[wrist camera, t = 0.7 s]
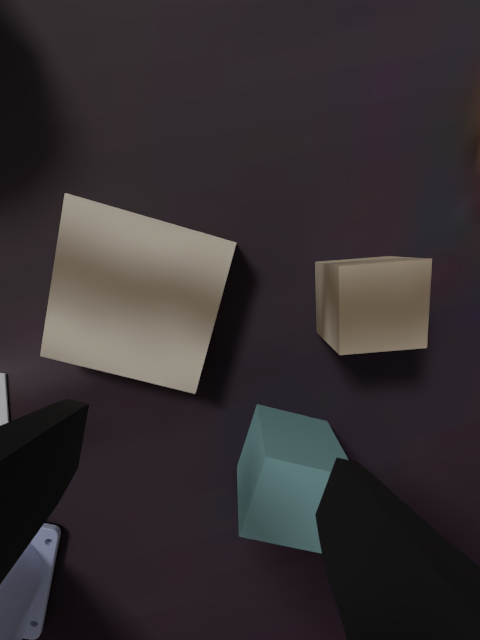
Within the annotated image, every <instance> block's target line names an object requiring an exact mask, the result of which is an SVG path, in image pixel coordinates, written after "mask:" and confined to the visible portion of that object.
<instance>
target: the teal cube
mask: <svg viewBox="0 0 480 640" xmlns="http://www.w3.org/2000/svg"><path fill="white" fill-rule="evenodd" d="M336 457H337V458H342V459H346V460H348V458H347V456H346V454H345V453H344V451H343V449H342V447H341V445H340V444H339V442H338V440H337V438H336V436H335V435H334V433H333V431H332V429H331V427H330V425H329V424H328V422H327V421H324V420H320V419H316V418H311V417H307V416H303V415H299V414H295V413H291V412H287V411H283V410H279V409H275V408H270V407H266V406H262V405H258V404H257V406H256V409H255V412H254V415H253V419H252V422H251V425H250V428H249V431H248V434H247V437H246V441H245V444H244V447H243V450H242V453H241V456H240V460H239V463H238V466H237V484H238V519H239V537H243V538H248V539H253V540H258V541H263V542H268V543H273V544H277V545H282V546H287V547H292V548H297V549H302V550H307V551H311V552H316V553H321V554H322V551H321V546H320V541H319V535H318V529H317V523H316V516H315V514H316V511H317V509H318V506H319V503H320V501H321V498H322V495H323V492H324V490H325V487H326V484H327V482H328V479H329V476H330V474H331V471H332V468H333V465H334V463H335V460H336Z"/></svg>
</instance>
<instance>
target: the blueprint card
mask: <svg viewBox="0 0 480 640" xmlns="http://www.w3.org/2000/svg"><path fill="white" fill-rule="evenodd" d="M8 422H9V412H8V398H7V383H6V373H0V426H1V425H3V424H6V423H8Z"/></svg>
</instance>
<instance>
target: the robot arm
mask: <svg viewBox="0 0 480 640" xmlns="http://www.w3.org/2000/svg"><path fill="white" fill-rule="evenodd" d="M88 407H89V404H87V403H83V402H78V401H74V400H69V399H65V400H62V401H59V402H57V403H54V404H52V405H49V406H47V407H44V408H42V409H40V410H37V411H35V412H33V413H30V414H28V415H25V416H23V417H21V418H18V419H16V420H13V421H11V422H8V423H6V424H3V425H1V426H0V640H22V639H23V638H24V639H30V640H35V639H37V638H39V636H40V634H41V632H42V630H43V624H44V619H45V614H46V608H47V603H48V598H49V593H50V587H51V582H52V577H53V572H54V566H55V561H56V556H57V551H58V545H59V540H60V535H61V530H60V528H59V527H58V526H56V525H52V524H47V523H45V521H46V520H47V519H48V517H49V516H50V514H51V513H52V511H53V510H54V509H55V507H56V506H57V504H58V503H59V501H60V499H61V497H62V496H63V494H64V492H65V490H66V489H67V487H68V485H69V483H70V481H71V480H72V478H73V476H74V474H75V472H76V470H77V469H78V465H79V459H80V453H81V448H82V442H83V436H84V430H85V424H86V419H87V413H88ZM315 516H316V523H317V529H318V535H319V541H320V546H321V551H322V556H323V559H324V563H325V566H326V570H327V573H328V577H329V580H330V584H331V587H332V590H333V594H334V597H335V600H336V604H337V607H338V610H339V614H340V617H341V620H342V624H343V627H344V630H345V634H346V637H347V640H480V567H479V566H478V565H476V564H475V563H474V562H473V561H471V560H470V559H469V558H468V557H466V556H465V555H464V554H463V553H462V552H460V551H459V550H458V549H457V548H456V547H454V546H453V545H452V544H451V543H450V542H448V541H447V540H446V539H445V538H444V537H442V536H441V535H440V534H439V533H438V532H437V531H435V530H434V529H433V528H432V527H431V526H430V525H428V524H427V523H426V522H425V521H424V520H423V519H422V518H421V517H419V516H418V515H417V514H416V513H415V512H414V511H413V510H412V509H410V508H409V507H408V506H407V505H406V504H405V503H404V502H403V501H401V500H400V499H399V498H398V497H397V496H396V495H395V494H394V493H393V492H391V491H390V490H389V489H388V488H387V487H386V486H385V485H384V484H383V483H381V482H380V481H379V480H378V479H377V478H376V477H375V476H373V475H372V474H371V473H370V472H369V471H368V470H366V469H365V468H364V467H363V466H361V465H360V464H359V463H357V462H356V461H351V460H346V459H342V458H337V457H336V460H335V463H334V465H333V468H332V471H331V474H330V476H329V479H328V482H327V484H326V487H325V490H324V492H323V495H322V498H321V501H320V503H319V506H318V509H317V511H316V514H315ZM50 539H51V540H50Z"/></svg>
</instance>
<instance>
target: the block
mask: <svg viewBox="0 0 480 640" xmlns="http://www.w3.org/2000/svg"><path fill="white" fill-rule="evenodd" d="M431 269H432V259H427V258H410V257H393V256H384V257H372V258H359V259H346V260H334V261H321V262H315V277H316V321H317V333H318V334H319V335H320V336H321V337H322V338H323V339H324V340H325V341H326V342H327V343H328V344H329V345H330V346H331V347H332V348H333V349H334V350H335V351H336V352H337V353H338V354H339V355H349V354H361V353H373V352H385V351H397V350H409V349H421V348H427V338H428V320H429V303H430V286H431Z"/></svg>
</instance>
